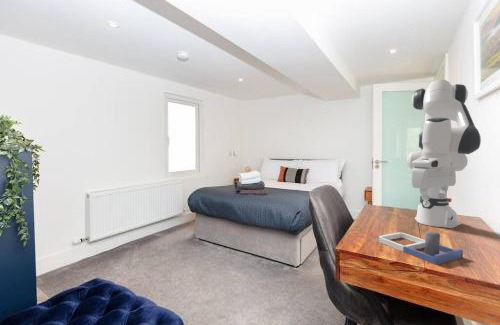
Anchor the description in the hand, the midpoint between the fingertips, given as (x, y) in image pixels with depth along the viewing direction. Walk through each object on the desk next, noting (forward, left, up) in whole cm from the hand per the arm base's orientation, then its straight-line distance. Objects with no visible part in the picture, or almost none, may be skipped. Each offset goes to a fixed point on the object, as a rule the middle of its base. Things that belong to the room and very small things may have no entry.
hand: (433, 199), depth 94 cm
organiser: (0, -6, -21) cm, 22 cm away
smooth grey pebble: (0, 0, -21) cm, 21 cm away
